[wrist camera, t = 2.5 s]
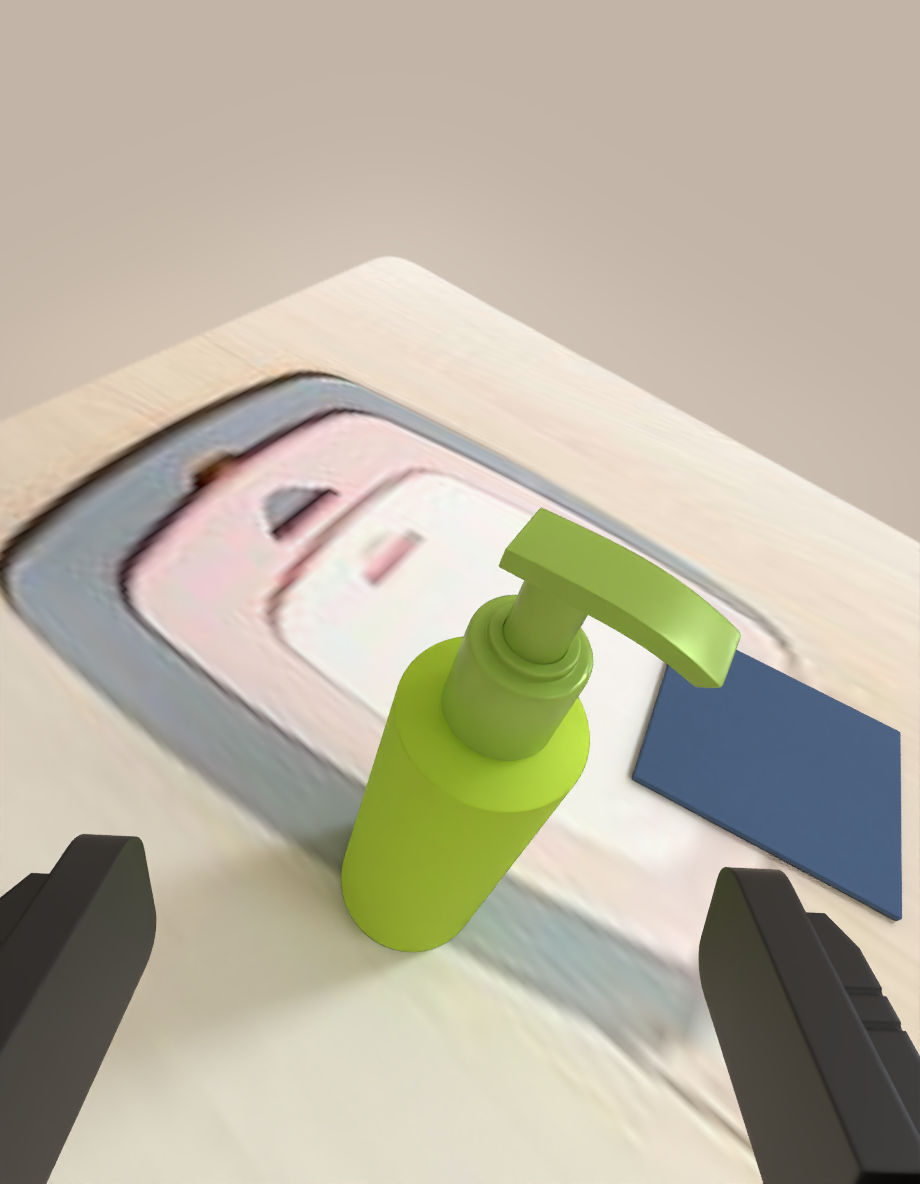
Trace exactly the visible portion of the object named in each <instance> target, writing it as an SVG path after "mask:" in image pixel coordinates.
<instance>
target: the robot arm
mask: <svg viewBox="0 0 920 1184" xmlns="http://www.w3.org/2000/svg"><path fill="white" fill-rule="evenodd" d="M155 932H156V910H155V905H154V899H153V894H152V889H151V883H150V878H149V872H148V867H147V862H146V856H145V851H144V846H143V843H142V841H141V839H140V838H139V837H133V836H112V835H92V834H81V835H79V836H77V837H76V838H75V839H74V840H73V841H72V842H71V843H70V845H69V846H68V847H67V849H66V850H65V852H64V853H63V855H62V856H61V858H60V859H59V861H58V862H57V863H56V865H55V866H54V868H53V869H52V871H51V872H50V874H41V873H31V874H29V875H28V876H27V877H26V878H24V879H23V880H22V881H21V882H19V883H18V884H17V885H16V886H14V887H13V888H12V889H11V890H9V891H8V892H7V893H6V894H4V895H3V896H2V897H1V898H0V1184H46V1183H47V1181H48V1179H49V1177H50V1174H51V1172H52V1170H53V1168H54V1166H55V1164H56V1161H57V1159H58V1157H59V1155H60V1153H61V1150H62V1148H63V1146H64V1144H65V1142H66V1140H67V1137H68V1135H69V1133H70V1131H71V1129H72V1126H73V1124H74V1122H75V1120H76V1118H77V1116H78V1113H79V1111H80V1109H81V1107H82V1105H83V1102H84V1100H85V1098H86V1096H87V1094H88V1092H89V1089H90V1087H91V1085H92V1083H93V1081H94V1078H95V1076H96V1074H97V1072H98V1070H99V1068H100V1065H101V1063H102V1061H103V1059H104V1057H105V1054H106V1052H107V1050H108V1048H109V1046H110V1044H111V1041H112V1039H113V1037H114V1035H115V1033H116V1030H117V1028H118V1026H119V1024H120V1022H121V1020H122V1017H123V1015H124V1013H125V1011H126V1009H127V1006H128V1004H129V1002H130V1000H131V998H132V996H133V993H134V991H135V989H136V987H137V985H138V982H139V980H140V978H141V976H142V974H143V972H144V969H145V967H146V965H147V962H148V960H149V957H150V954H151V951H152V947H153V943H154V938H155ZM699 972H700V979H701V984H702V989H703V993H704V996H705V999H706V1002H707V1005H708V1009H709V1012H710V1015H711V1018H712V1021H713V1025H714V1028H715V1031H716V1034H717V1037H718V1040H719V1044H720V1047H721V1050H722V1053H723V1056H724V1060H725V1063H726V1066H727V1069H728V1072H729V1075H730V1079H731V1082H732V1085H733V1088H734V1091H735V1095H736V1098H737V1101H738V1104H739V1107H740V1110H741V1114H742V1117H743V1120H744V1123H745V1126H746V1129H747V1133H748V1136H749V1139H750V1142H751V1145H752V1149H753V1152H754V1155H755V1158H756V1161H757V1164H758V1168H759V1171H760V1174H761V1177H762V1180H763V1184H920V1056H919V1054H918V1052H917V1050H916V1049H915V1047H914V1045H913V1043H912V1041H911V1040H910V1038H909V1036H908V1034H907V1032H906V1031H902V1029H901V1022H900V1020H899V1018H898V1016H897V1015H896V1013H895V1011H894V1009H893V1007H892V1006H891V1004H890V1002H889V1000H888V999H887V997H886V996H883V995H882V988H881V986H880V984H879V982H878V981H877V979H876V977H875V975H874V973H873V972H872V970H871V968H870V966H869V965H868V963H867V961H866V959H865V957H864V956H863V954H862V952H861V950H860V948H859V947H858V946H857V945H856V944H855V943H854V942H853V941H852V940H851V939H850V938H849V937H848V936H847V935H846V934H845V933H844V932H843V931H842V930H841V929H840V928H839V927H838V926H837V925H836V924H835V923H834V922H833V921H832V920H831V919H830V918H829V917H828V916H827V915H826V914H825V913H806V912H805V910H804V908H803V906H802V904H801V902H800V900H799V898H798V896H797V894H796V892H795V890H794V888H793V886H792V884H791V882H790V881H789V879H788V877H787V876H786V875H785V874H784V873H783V872H782V871H780V870H772V869H751V868H730V867H725V868H723V869H722V870H721V871H720V873H719V875H718V878H717V882H716V885H715V889H714V893H713V896H712V900H711V903H710V907H709V911H708V914H707V918H706V921H705V925H704V929H703V932H702V936H701V940H700V945H699Z"/></svg>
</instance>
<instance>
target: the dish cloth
mask: <svg viewBox="0 0 920 1184" xmlns="http://www.w3.org/2000/svg"><path fill="white" fill-rule="evenodd" d="M632 779H633V780H635V781H637V782H639V783H640V784H642V785H644V786H646V787H648V788H650V789H652V790H653V791H655V792H657V793H659V794H661V795H663V796H665V797H666V798H668V799H670V800H672V801H674V802H676V803H678V804H680V805H681V806H683V807H685V808H687V809H689V810H691V811H693V812H694V813H696V814H698V815H700V816H702V817H704V818H706V819H707V820H709V821H711V822H713V823H715V824H717V825H719V826H720V827H722V828H724V829H726V830H728V831H730V832H732V833H733V834H735V835H737V836H739V837H741V838H743V839H745V840H747V841H748V842H750V843H752V844H754V845H756V846H758V847H760V848H761V849H763V850H765V851H767V852H769V853H771V854H773V855H774V856H776V857H778V858H780V859H782V860H784V861H786V862H787V863H789V864H791V865H793V866H795V867H797V868H799V869H800V870H802V871H804V872H806V873H808V874H810V875H812V876H814V877H815V878H817V879H819V880H821V881H823V882H825V883H827V884H828V885H830V886H832V887H834V888H836V889H838V890H840V891H841V892H843V893H845V894H847V895H849V896H851V897H853V898H854V899H856V900H858V901H860V902H862V903H864V904H866V905H867V906H869V907H871V908H873V909H875V910H877V911H879V912H881V913H882V914H884V915H886V916H888V917H890V918H892V919H894V920H895V921H898V920H900V919H902V871H901V754H900V732H899V731H897V730H895V729H893V728H891V727H889V726H887V725H885V724H883V723H881V722H879V721H877V720H875V719H873V718H871V717H869V716H867V715H865V714H863V713H861V712H859V711H857V710H855V709H853V708H851V707H849V706H847V705H845V704H843V703H841V702H839V701H837V700H835V699H833V698H831V697H829V696H827V695H825V694H823V693H821V692H819V691H817V690H815V689H813V688H811V687H809V686H807V685H805V684H803V683H801V682H799V681H798V680H796V679H794V678H792V677H790V676H788V675H786V674H784V673H782V672H780V671H778V670H776V669H774V668H772V667H770V666H768V665H766V664H764V663H762V662H760V661H758V660H756V659H754V658H752V657H750V656H748V655H746V654H744V653H742V652H740V651H738V650H736V651H735V654H734V657H733V659H732V662H731V665H730V667H729V670H728V673H727V675H726V678H725V681H724V683H723V685H722V687H720V688H701V687H695V686H694V685H692V684H691V683H690V682H689V681H687V680H686V679H685V678H684V677H682V676H681V675H680V674H679V673H678V672H676V671H675V670H674V669H673V668H671V667H670V666H669V665H667V668H666V672H665V675H664V678H663V681H662V684H661V687H660V691H659V694H658V697H657V700H656V703H655V706H654V710H653V713H652V716H651V719H650V722H649V725H648V729H647V732H646V735H645V738H644V741H643V744H642V748H641V751H640V754H639V757H638V760H637V763H636V767H635V770H634V773H633V776H632Z"/></svg>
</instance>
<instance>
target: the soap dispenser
mask: <svg viewBox="0 0 920 1184" xmlns="http://www.w3.org/2000/svg"><path fill="white" fill-rule="evenodd" d="M499 567H500V568H502V569H504V570H506V571H508V572H510V573H512V574H514V575H515V576H517V577H519V578H521V579H523V580H524V582H523V585H522V587H521V589H520V591H519V593H518V595H507V596H502V597H498V598H495V599H492V600H490V601H488V602H487V603H485V604H484V605H482V606H481V607H480V608H479V609H478V610H477V611H476V613H475V614H474V615H473V617H472V618H471V620H470V622H469V625H468V627H467V629H466V632H465V634H464V637H457V638H452V639H449V640H445V641H443V642H440V643H438V644H435V645H433V646H432V647H430V648H428V649H427V650H425V651H424V652H422V653H421V654H420V655H419V656H417V657H416V658H415V659H414V660H413V661H412V663H411V664H410V665H409V666H408V668H407V669H406V671H405V672H404V674H403V676H402V678H401V680H400V682H399V685H398V687H397V691H396V694H395V697H394V700H393V703H392V707H391V710H390V713H389V716H388V719H387V723H386V726H385V729H384V732H383V735H382V739H381V742H380V745H379V748H378V751H377V755H376V758H375V761H374V764H373V767H372V771H371V774H370V777H369V780H368V783H367V787H366V790H365V793H364V796H363V799H362V803H361V806H360V809H359V812H358V815H357V819H356V822H355V825H354V828H353V831H352V835H351V838H350V841H349V844H348V847H347V851H346V854H345V857H344V861H343V865H342V873H341V884H342V892H343V896H344V900H345V903H346V906H347V908H348V910H349V912H350V914H351V916H352V918H353V919H354V921H355V922H356V923H357V925H358V926H359V927H360V928H361V929H362V930H363V931H364V932H365V933H366V934H367V935H368V936H369V937H371V938H372V939H373V940H375V941H376V942H378V943H380V944H382V945H384V946H386V947H388V948H391V949H395V950H399V951H405V952H420V951H426V950H430V949H433V948H436V947H439V946H441V945H443V944H445V943H446V942H448V941H449V940H451V939H452V938H453V937H455V936H456V935H457V934H458V933H459V932H460V931H461V930H462V929H463V927H464V926H465V925H466V924H467V922H468V921H469V920H470V919H471V917H472V916H473V915H474V913H475V912H476V911H477V910H478V908H479V907H480V906H481V904H482V903H483V902H484V901H485V899H486V898H487V897H488V895H489V894H490V893H491V892H492V890H493V889H494V888H495V886H496V885H497V884H498V883H499V881H500V880H501V879H502V877H503V876H504V875H505V874H506V872H507V871H508V870H509V868H510V867H511V866H512V864H513V863H514V862H515V861H516V859H517V858H518V857H519V855H520V854H521V853H522V852H523V850H524V849H525V848H526V846H527V845H528V844H529V843H530V841H531V840H532V839H533V837H534V836H535V835H536V834H537V832H538V831H539V830H540V828H541V827H542V826H543V825H544V823H545V822H546V821H547V819H548V818H549V817H550V816H551V814H552V813H553V812H554V810H555V809H556V808H557V807H558V805H559V804H560V803H561V801H562V800H563V799H564V798H565V796H566V795H567V794H568V792H569V791H570V790H571V789H572V787H573V786H574V785H575V783H576V782H577V781H578V779H579V777H580V776H581V774H582V772H583V770H584V767H585V765H586V762H587V758H588V754H589V746H590V734H589V726H588V721H587V717H586V714H585V711H584V708H583V706H582V703H581V701H580V699H579V697H578V696H579V695H580V693H581V692H582V690H583V689H584V687H585V685H586V684H587V682H588V680H589V678H590V675H591V672H592V668H593V653H592V649H591V646H590V643H589V640H588V638H587V636H586V635H585V633H584V631H583V630H582V628H581V626H582V624H583V622H584V620H585V619H586V617H587V615H590V616H591V617H593V618H595V619H597V620H599V621H601V622H602V623H604V624H606V625H608V626H610V627H611V628H613V629H615V630H617V631H618V632H620V633H622V634H623V635H625V636H627V637H628V638H630V639H632V640H633V641H635V642H636V643H638V644H639V645H641V646H642V647H644V648H645V649H647V650H648V651H650V652H651V653H653V654H654V655H656V656H657V657H658V658H660V659H661V660H662V661H664V662H665V663H666V664H668V665H669V666H670V667H671V668H673V669H674V670H675V671H676V672H678V673H679V674H680V675H681V676H682V677H684V678H685V679H686V680H687V681H689V682H690V683H691V684H692V685H694V686H695V687H701V688H720V687H722V685H723V683H724V681H725V678H726V675H727V673H728V670H729V667H730V665H731V662H732V659H733V657H734V654H735V651H736V648H737V646H738V643H739V640H740V636H741V635H740V632H739V631H738V630H737V629H736V628H735V627H734V626H733V625H732V624H731V623H730V622H729V621H728V620H727V619H726V618H725V617H724V616H723V615H722V614H720V613H719V612H718V611H717V610H716V609H715V608H713V607H712V606H711V605H710V604H709V603H708V602H706V601H705V600H704V599H703V598H701V597H700V596H699V595H698V594H696V593H695V592H694V591H693V590H691V589H690V588H689V587H687V586H686V585H685V584H683V583H682V582H680V581H679V580H678V579H676V578H675V577H673V576H672V575H670V574H669V573H667V572H666V571H664V570H663V569H661V568H659V567H658V566H656V565H655V564H653V563H651V562H650V561H648V560H646V559H644V558H643V557H641V556H639V555H637V554H636V553H634V552H632V551H630V550H628V549H626V548H624V547H623V546H621V545H619V544H617V543H615V542H613V541H611V540H609V539H607V538H605V537H603V536H601V535H599V534H597V533H595V532H593V531H591V530H588V529H586V528H584V527H582V526H580V525H578V524H576V523H574V522H572V521H569V520H567V519H565V518H563V517H561V516H559V515H557V514H554V513H552V512H550V511H548V510H546V509H543V508H540V509H539V510H538V511H537V513H536V514H535V515H534V516H533V517H532V518H531V520H530V521H529V522H528V523H527V524H526V526H525V527H524V528H523V529H522V530H521V531H520V533H519V534H518V535H517V536H516V537H515V539H514V540H513V541H512V542H511V543H510V544H509V546H508V547H507V548H506V550H505V552H504V554H503V557H502V559H501V561H500V564H499Z"/></svg>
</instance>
